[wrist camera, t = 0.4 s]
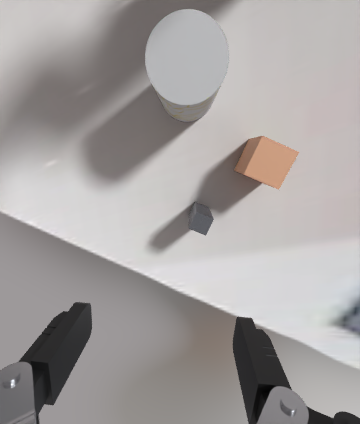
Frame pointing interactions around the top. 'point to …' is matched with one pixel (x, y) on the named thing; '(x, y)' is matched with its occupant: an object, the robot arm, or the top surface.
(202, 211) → the post
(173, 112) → the white round cylinder
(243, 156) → the tan cardboard box
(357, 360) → the top surface
